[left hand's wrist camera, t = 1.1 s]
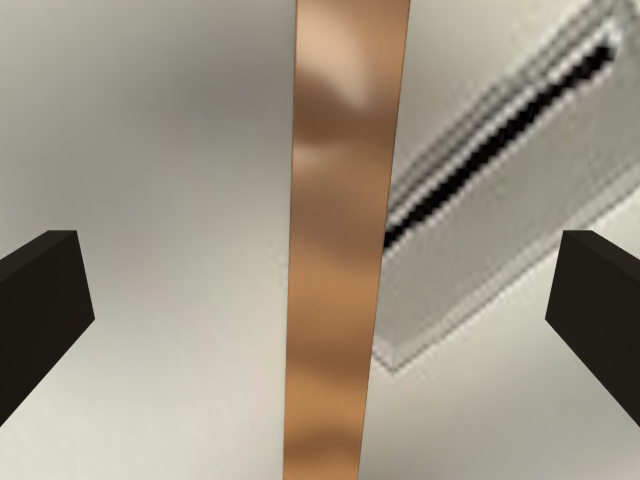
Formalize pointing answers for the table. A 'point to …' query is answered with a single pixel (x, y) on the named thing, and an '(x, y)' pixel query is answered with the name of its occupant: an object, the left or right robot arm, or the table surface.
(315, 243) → the post
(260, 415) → the table surface
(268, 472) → the table surface
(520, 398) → the table surface
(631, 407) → the left robot arm
